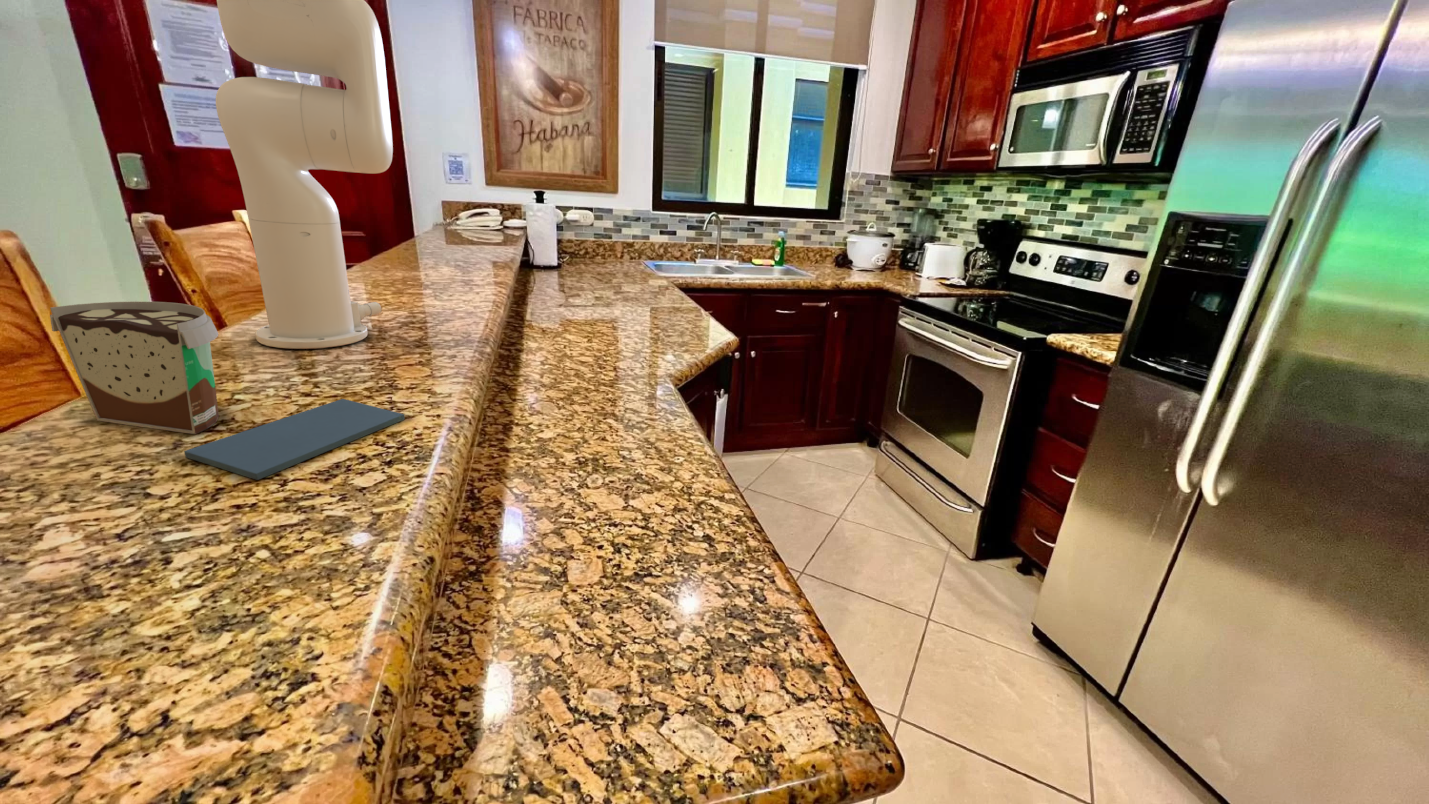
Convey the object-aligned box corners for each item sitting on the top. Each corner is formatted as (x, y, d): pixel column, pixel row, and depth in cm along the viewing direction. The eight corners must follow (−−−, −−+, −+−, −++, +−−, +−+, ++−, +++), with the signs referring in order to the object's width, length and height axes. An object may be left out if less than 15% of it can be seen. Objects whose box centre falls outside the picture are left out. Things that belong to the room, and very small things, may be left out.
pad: (343, 403, 57) (342, 398, 57) (405, 419, 55) (404, 413, 55) (185, 457, 44) (183, 450, 44) (257, 480, 42) (255, 473, 42)
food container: (271, 411, 54) (251, 310, 50) (211, 436, 48) (183, 324, 44) (154, 395, 55) (126, 294, 51) (81, 418, 49) (44, 306, 45)
